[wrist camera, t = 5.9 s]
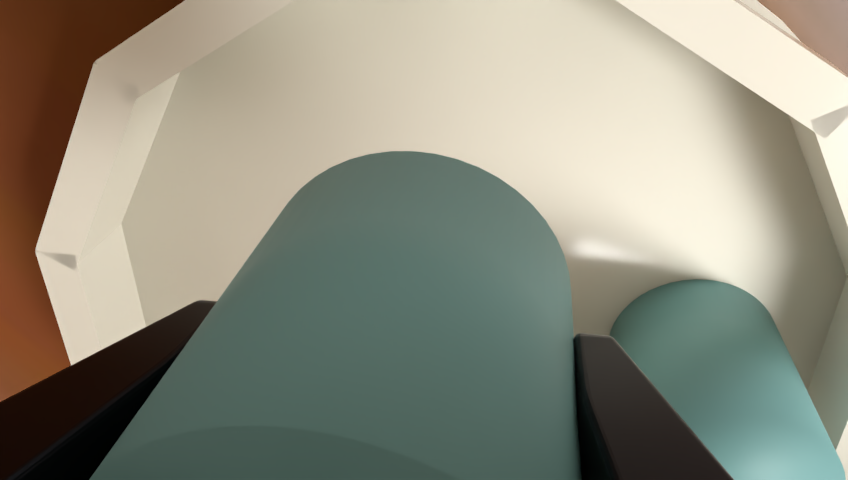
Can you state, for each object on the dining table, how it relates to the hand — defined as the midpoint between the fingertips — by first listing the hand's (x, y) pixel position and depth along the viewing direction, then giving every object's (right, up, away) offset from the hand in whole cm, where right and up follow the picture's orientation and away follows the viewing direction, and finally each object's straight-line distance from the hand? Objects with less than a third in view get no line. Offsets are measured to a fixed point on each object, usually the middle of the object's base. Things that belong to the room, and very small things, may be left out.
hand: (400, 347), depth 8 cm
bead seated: (+7, -1, +9) cm, 12 cm away
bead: (0, +1, +1) cm, 1 cm away
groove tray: (+1, 0, +11) cm, 11 cm away
